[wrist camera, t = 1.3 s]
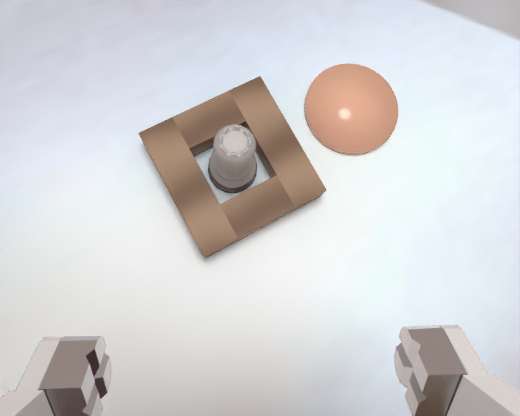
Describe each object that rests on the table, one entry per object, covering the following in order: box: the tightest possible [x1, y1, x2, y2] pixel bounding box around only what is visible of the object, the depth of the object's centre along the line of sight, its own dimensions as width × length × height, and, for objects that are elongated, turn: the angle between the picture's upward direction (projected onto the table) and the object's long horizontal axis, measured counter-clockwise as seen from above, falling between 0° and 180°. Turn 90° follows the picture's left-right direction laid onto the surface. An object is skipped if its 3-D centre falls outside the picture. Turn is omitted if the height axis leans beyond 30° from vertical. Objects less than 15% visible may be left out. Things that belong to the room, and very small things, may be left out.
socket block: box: [139, 76, 326, 258], centre depth 38 cm, size 12×12×2 cm
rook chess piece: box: [208, 124, 257, 192], centre depth 36 cm, size 4×4×8 cm
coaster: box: [305, 64, 398, 155], centre depth 41 cm, size 9×9×1 cm
